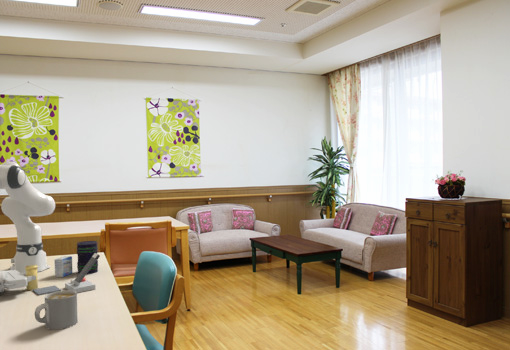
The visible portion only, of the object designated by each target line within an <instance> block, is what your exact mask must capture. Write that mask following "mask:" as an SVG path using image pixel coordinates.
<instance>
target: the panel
mask: <svg viewBox="0 0 510 350" xmlns="http://www.w3.org/2000/svg"><path fill="white" fill-rule="evenodd" d="M75 279H76V278H73V279H70V281H69V282H65V283H64V288H65V289H67V291H75V292H77V294H78V293H83V292H90V291H92V290H93V291H94V290H96V284H95V283H93V282H91V281H90V280H88V279H86V277H84V278H83V279H82V281H81V282H80V285H79V286H76V285H75V284H73V283H72V281H73V280H75Z"/></svg>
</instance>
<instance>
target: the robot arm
mask: <svg viewBox="0 0 510 350" xmlns="http://www.w3.org/2000/svg"><path fill="white" fill-rule="evenodd" d="M0 190H5V191H6V194H7V195H8V196H6V197H5V198H3V199H2V202H1V205H0V208H1V211H2V213H3V214H4V215H5V216H6V217H8V218H9V219H10V220H11V221H12V223H13V224H14V226H15V230H16V237H17V243H16V249H15V250H16V253H15V255H14V257H13V258H11V259H10V264H12V265H11V266H9V270H0V293H3V292H4V291H5V289H7V290H12V289H20V288H25V287H26V286H27V282H29V281H31V280H36V276H35V275H32V276H28V277H26V270H25V266H29V265H38V268H37V273H39V272H42V271H45V270H47V269H49V268H51V265H50V264H47V263H48V262H47V261H48V259H47V253H46V251H44V250H43V249H44V248H43V247H44V244H43V243H44V242H42V228H41V226H40V225H39V224H37V223H35V222H33V221H32V219H31V218H30V217H44V216H48V215H52V214H53V213H54V211H55V209H56V202H55V200H54V198H53V197H52V196H51V195H47V194H44V193H43V192H41V191H40V190H39V189H37V188H36V187H34V186H33V184H32V183H31V181H30V180H29V177H28V176H27V174H26V171H25V170H24V169H23V167H22V166H20V165H19V164H18V163H17V162H14V161H5V162H3V163H2V164H0Z"/></svg>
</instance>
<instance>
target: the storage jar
mask: <svg viewBox="0 0 510 350" xmlns="http://www.w3.org/2000/svg"><path fill="white" fill-rule="evenodd" d="M98 249H99V247H98V241H97V240H85V241H79V242H78V241H77V242H76V255H77V262H76V267H77V275H79V273H80V272H81V271H82V269H83V268H84V267H85V265H86V264H87V263H88V261H89V260H90V259H91V258H92V256H93V255H94V253H96V254H99V252H98V251H99V250H98ZM98 268H99V259H98V260H97V261H96V262H95V264H94V265H93V266H92V268H91V269H90V270H89V272H88V273H87V274H86V275H92V274H96V273H98V272H99V269H98Z"/></svg>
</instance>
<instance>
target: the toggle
mask: <svg viewBox="0 0 510 350" xmlns="http://www.w3.org/2000/svg"><path fill="white" fill-rule="evenodd" d="M100 257H101V255H100V254H99V253H97V254H96V253H94V255H93V256H92V258H91V259H90V260H89V261H88V263H87V264H86V265H85V267H84V268H83V269H82V271H81V272H80V273H79V274H77V276H76V277H75V278H74V279H75V280H73V279H72V280H73V281H72V283H73V284H75V285H76V286H79V285H80V282H81V281H82V279H83V278H86V277H85V276H86V275H88V274H87V273H88V272H89V270H90V269H91V268H92V266H93V265H94V264H95V262H96V261H97V260H98V261H99V259H100Z"/></svg>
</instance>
